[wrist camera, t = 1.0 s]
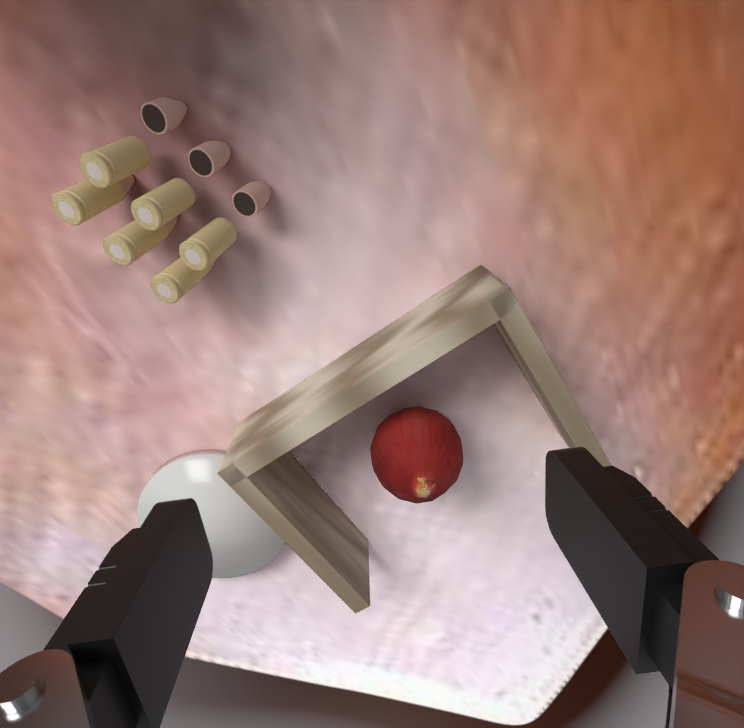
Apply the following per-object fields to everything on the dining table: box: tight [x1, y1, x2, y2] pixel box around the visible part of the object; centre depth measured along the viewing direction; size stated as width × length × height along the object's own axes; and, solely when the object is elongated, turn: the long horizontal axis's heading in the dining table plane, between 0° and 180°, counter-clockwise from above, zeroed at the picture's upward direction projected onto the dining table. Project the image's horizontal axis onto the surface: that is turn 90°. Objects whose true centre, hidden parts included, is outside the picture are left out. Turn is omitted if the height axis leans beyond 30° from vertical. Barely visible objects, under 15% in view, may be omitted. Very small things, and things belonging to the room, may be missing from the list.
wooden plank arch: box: [217, 265, 611, 613], centre depth 30 cm, size 19×14×6 cm
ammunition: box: [52, 97, 271, 303], centre depth 25 cm, size 5×7×8 cm
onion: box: [370, 406, 463, 503], centre depth 29 cm, size 6×6×8 cm
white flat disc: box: [137, 450, 285, 578], centre depth 35 cm, size 11×11×1 cm
